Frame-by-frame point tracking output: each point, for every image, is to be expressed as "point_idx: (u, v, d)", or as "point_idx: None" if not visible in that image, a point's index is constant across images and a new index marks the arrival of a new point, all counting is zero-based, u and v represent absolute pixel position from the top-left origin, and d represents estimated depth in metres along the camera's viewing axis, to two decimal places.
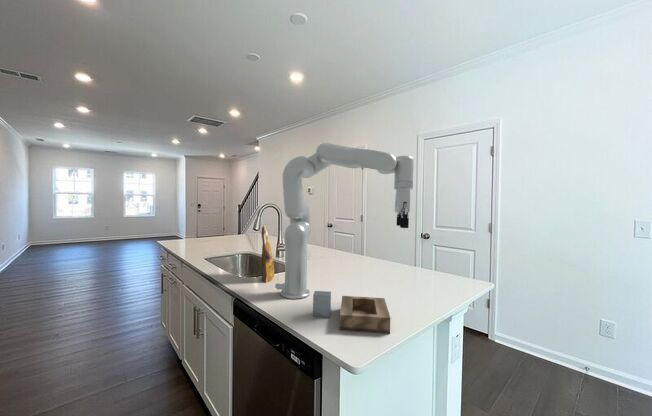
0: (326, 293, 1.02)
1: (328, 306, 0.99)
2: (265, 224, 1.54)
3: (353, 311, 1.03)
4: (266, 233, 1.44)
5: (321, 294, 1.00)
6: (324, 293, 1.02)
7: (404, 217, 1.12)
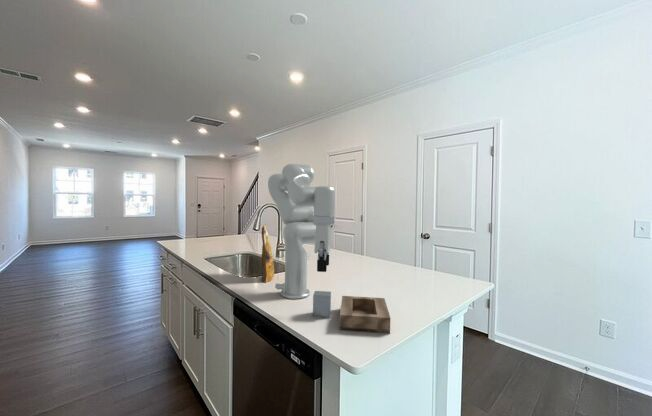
0: (326, 293, 1.02)
1: (328, 306, 0.99)
2: (265, 224, 1.54)
3: (353, 311, 1.03)
4: (266, 233, 1.44)
5: (321, 294, 1.00)
6: (324, 293, 1.02)
7: (320, 259, 0.95)
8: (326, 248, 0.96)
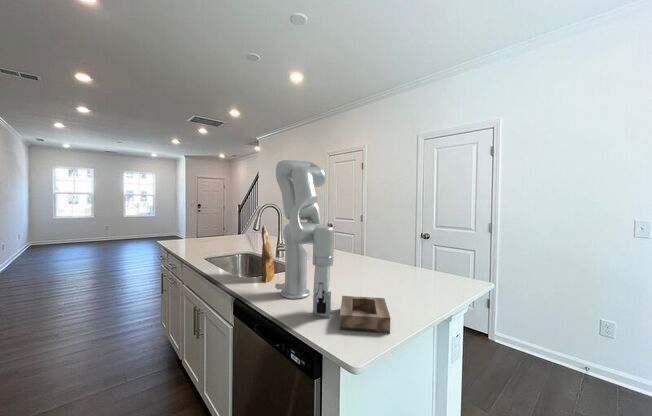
0: None
1: (328, 306, 0.99)
2: (265, 224, 1.54)
3: (353, 311, 1.03)
4: (266, 233, 1.44)
5: None
6: None
7: (320, 302, 0.98)
8: (325, 292, 0.97)
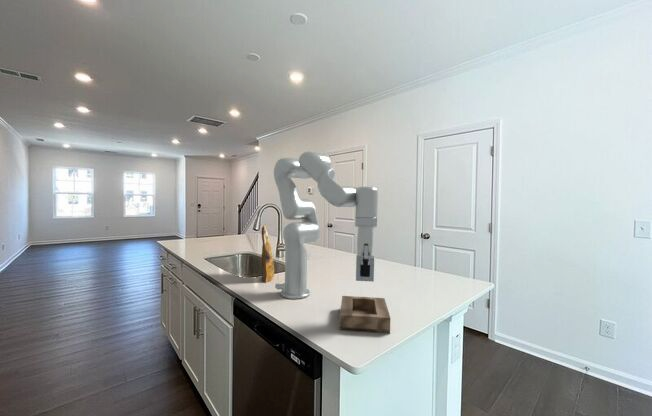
0: None
1: (372, 269, 0.95)
2: (265, 224, 1.54)
3: (353, 311, 1.03)
4: (266, 233, 1.44)
5: None
6: None
7: (364, 265, 0.94)
8: (370, 254, 0.93)
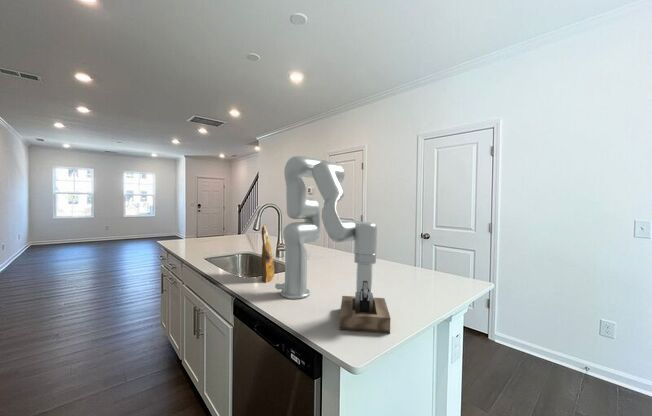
0: None
1: (371, 308, 0.96)
2: (265, 224, 1.54)
3: (353, 311, 1.03)
4: (266, 233, 1.44)
5: None
6: None
7: (364, 300, 0.92)
8: (369, 288, 0.93)
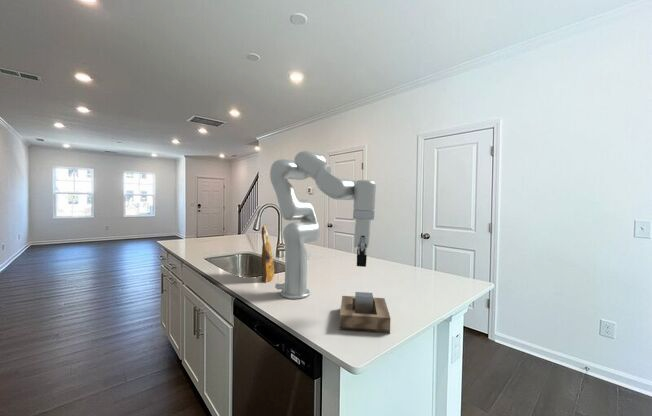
0: (368, 294, 0.98)
1: (371, 308, 0.96)
2: (265, 224, 1.54)
3: (353, 311, 1.03)
4: (266, 233, 1.44)
5: (364, 295, 0.97)
6: (366, 294, 0.98)
7: (361, 254, 0.94)
8: (366, 243, 0.95)
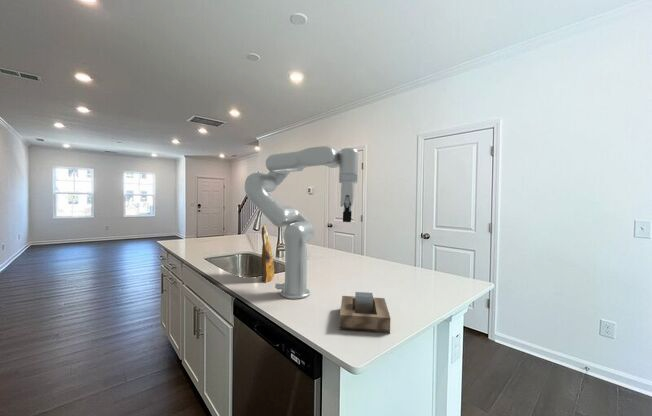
0: (368, 294, 0.98)
1: (371, 308, 0.96)
2: (265, 224, 1.54)
3: (353, 311, 1.03)
4: (266, 233, 1.44)
5: (364, 295, 0.97)
6: (366, 294, 0.98)
7: (346, 211, 1.09)
8: (351, 201, 1.10)
